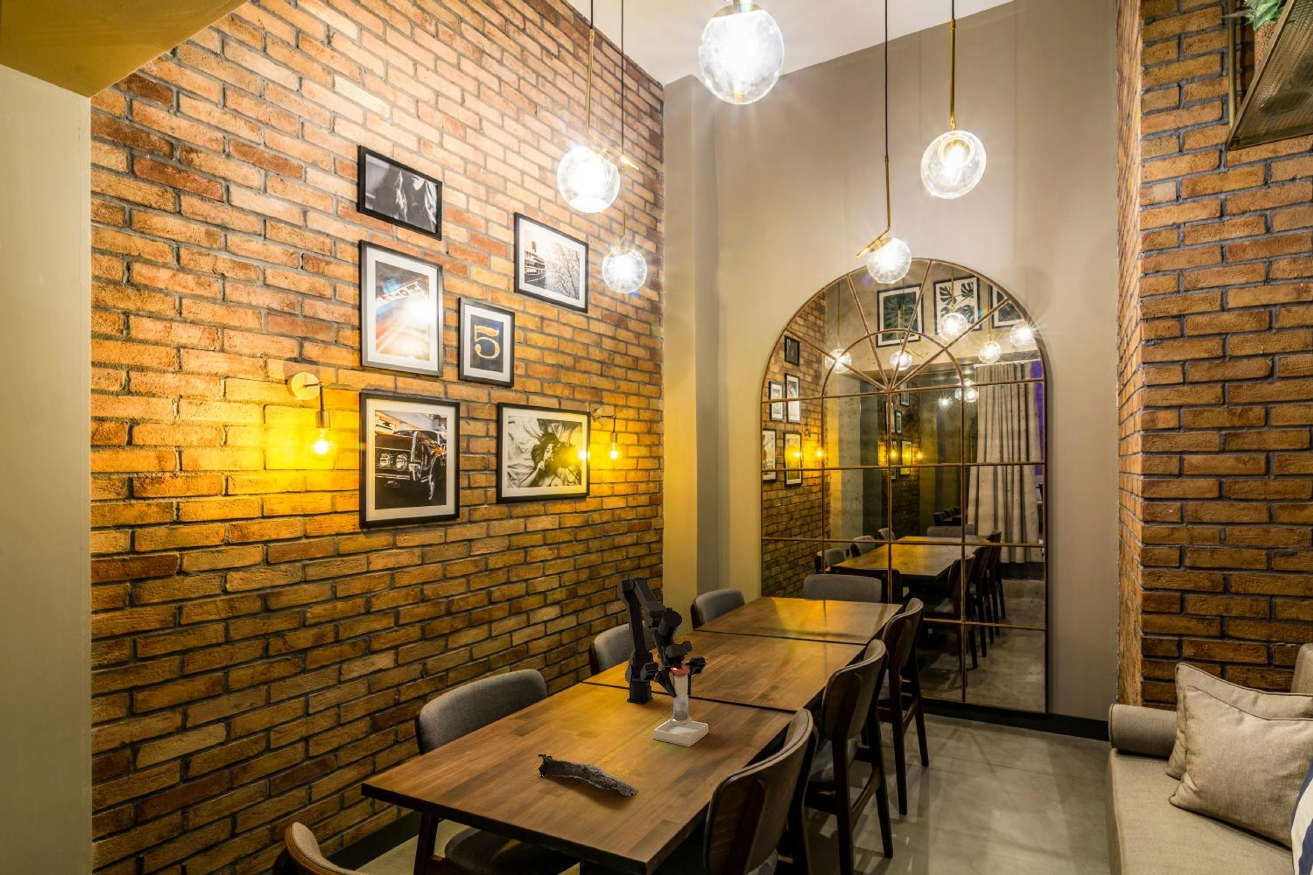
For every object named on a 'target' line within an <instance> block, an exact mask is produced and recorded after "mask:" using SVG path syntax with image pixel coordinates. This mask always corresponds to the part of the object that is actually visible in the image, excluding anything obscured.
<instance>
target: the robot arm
mask: <svg viewBox="0 0 1313 875" xmlns="http://www.w3.org/2000/svg"><path fill="white" fill-rule="evenodd" d="M616 590H617V592H618V593H617V594H619V600H620V601H621V602H622V603H623V605H624V606H625V608H626V616H627V624H628V630H629V638H630V645H631V652H630V656H629V657H628V663H627V667H626V670H625V671H624V679H625V681H626V682H627V683H628V688H629V689H628V692H629V693H628V694H629V697H628V698H627V699H626V702H630V703H634V704H635V703H636V704H639V705H644V704H646V703H648V702H650V701H651V700H653V699H654V697H653V696H652V695H653V694H652V693H653V692H652V691H653V690H652V689H653V688H652V685H651V682H654V683H655V684H659V685H660V686H661V687H662V688H664V690H665V691H666V692H667V694H669V695H670V696H671V698H672V699H673V698H675V697H676V694H675V691H674V688H673V681H672V680H671V676H670V673H671V667H672V666H674V665H686V666H689V671H690V672H689V673H688V697H691V695H692V677H693V676H695V675H696V676H697V675H700V674H702V673H703V671H704V669H705V668H706V666H707V665H708V663H707V661H706V659H705V657H704V656H702V655H699V656H692V657H690V659H689V661H688V662H683V661H685V656H688V653H691V652H693V644H692V643H691V640H689V639H688V640H684V641H682V643H677V642H676V641H675V638H674V637H675V636H676V635H677V633H678V632H679V629H680V627H681V625H682V623H683V617H682V615H681V614H680V613H679V612H677V611H676V610H673V607H671V606H670V607H666V605H665V604H663V603H662V602H659V601H658V600H657V598H656V596H655V595H654V592H653V590H652V589H651V587H650V586H649V584H648V579H647V577H646V576H643V575H642V576H639V575H638V576H633V577H630V578H623V579H620V581H618V583H617V586H616ZM641 607H642V609H643V612H644V613H643V616H642V609H641ZM643 623H644V624H643ZM644 625H645V626H646V628H647V629H648V630H652V629H653V630H654V629H655V630H654V631H653V633H652V638H651V641H652V642H654V644H655V645H654V646H655V647H656V651H657V656H656V657H657V660H660V664H659V663H658V662H657V661H654V655H653V652H652V651H649V650H648V648H647V646H646V645H647V644H646V637H645V630H644Z"/></svg>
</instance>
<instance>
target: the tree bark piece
mask: <svg viewBox="0 0 1313 875" xmlns="http://www.w3.org/2000/svg"><path fill="white" fill-rule="evenodd" d="M537 757H538V758H542V762H541V765H540V766H539V767H538V771H539V774H540V775H541V777H542V775H543V776H545V777H546V776H549V777H550V778H551V777H553V776H555V777H561V778H566V779H568V778H575V779H579V780H580V781H581V780H583V781H587V782H588V783H589V784H591V785H593V786H595V787H596V788H599V789H602V790H613V789H616V790H618V791H619V792H618V793H620V794H621V795H624V796H626V797H631V796H632V794H633V795H636V794H637V793H638V792H639V791H640V790H639V789H638V788H636V787H634V786H633V785H631V784H630V783H628V782H626V781H624V780H621V779H619V778H617V777H615V776H614V775H611V774H610V773H607V772H606V771H604V770H603V769H602V768H601V767H599V766H596V765H594V764H589V763H588V764H585V763H579V762H575V761H570V760H562V759H561V760H560V759H555V758H553V756H552V755H547V754H546V753H543V754H542V753H539V754H537Z"/></svg>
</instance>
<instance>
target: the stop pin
mask: <svg viewBox="0 0 1313 875" xmlns="http://www.w3.org/2000/svg"><path fill="white" fill-rule="evenodd" d="M689 672H690V671H689V666H686V665H674V666H672V667H671V672H670V673H671V674H672V685H673V688H674V691H675V694H676V697H675V698H673V697H672V715H671V716H670V717H669V720H670V722H671V723H672V724H675V725H686V724H689V723H691V721H693V720H692V716H691V715H689V696H688V673H689Z"/></svg>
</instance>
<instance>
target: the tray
mask: <svg viewBox="0 0 1313 875" xmlns="http://www.w3.org/2000/svg"><path fill="white" fill-rule="evenodd" d="M652 734H653V735H652V736H653V740H656V741H660V742H663V743H664V742H665V743H668V742H669V744H673V745H679V746H682V747H686V748H690V747H692V746H693V745H694V744H696V743H697V742H699V741H700V740H701V739H702V738H704V737H705V736H706V735H707V734H709V723H705V722H701V721H700V722H699V721H696V720H692V721H691V723H689V724H686V725H675V724H672V723H671V722H670V719H668V720H666V721H665V722H663V723H662V724H661V725H659V726H657V727H656V728H653V732H652Z"/></svg>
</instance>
